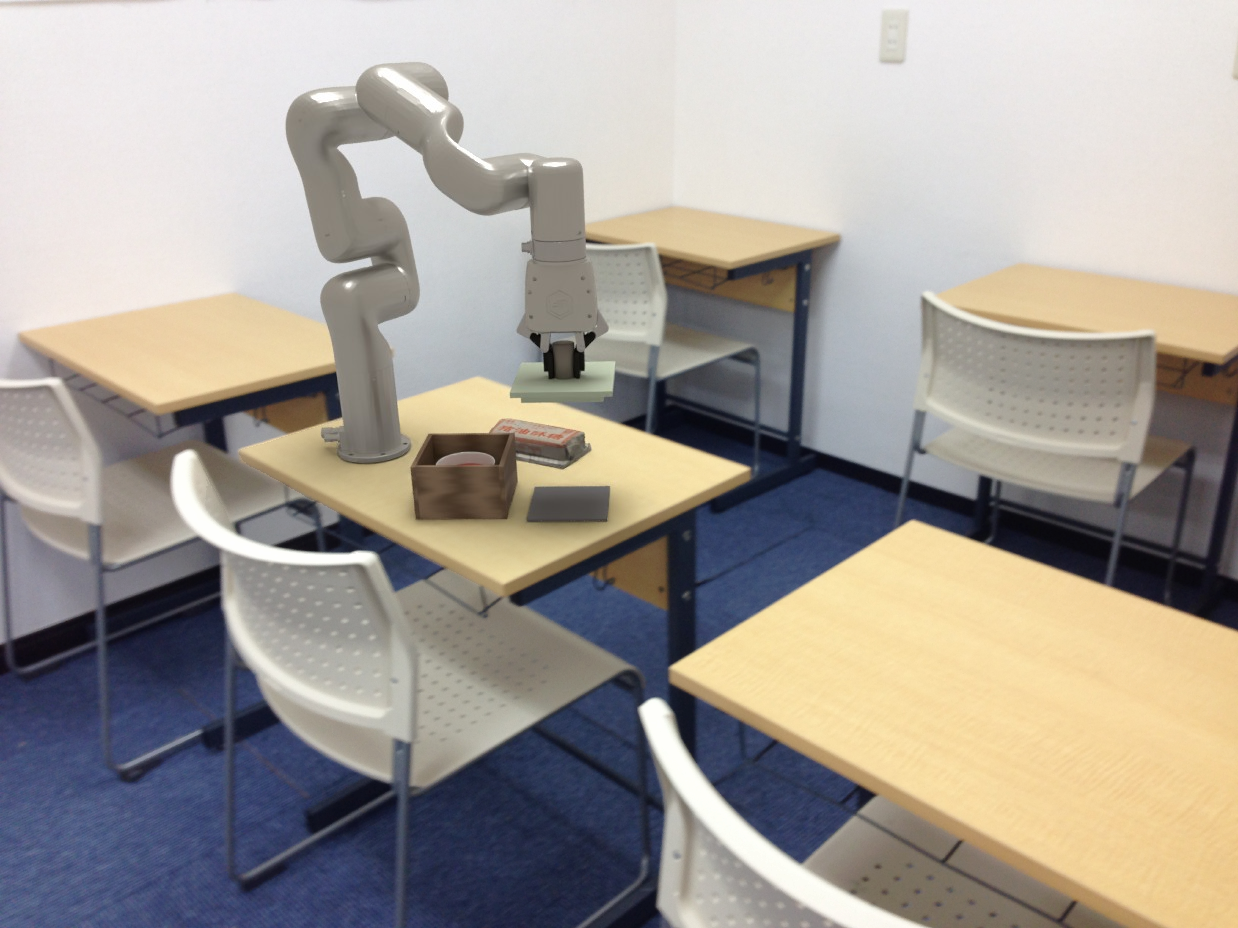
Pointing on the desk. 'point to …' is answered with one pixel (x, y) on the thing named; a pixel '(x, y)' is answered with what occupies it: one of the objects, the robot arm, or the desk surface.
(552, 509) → the mat
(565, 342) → the lid
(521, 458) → the packaged product
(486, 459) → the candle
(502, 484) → the box
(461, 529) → the desk surface
